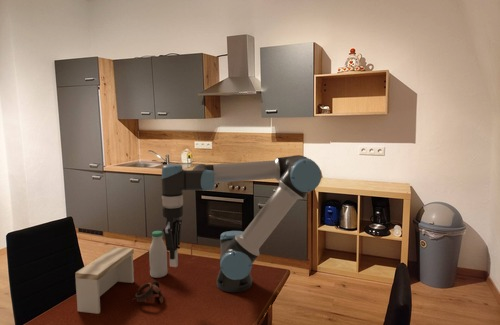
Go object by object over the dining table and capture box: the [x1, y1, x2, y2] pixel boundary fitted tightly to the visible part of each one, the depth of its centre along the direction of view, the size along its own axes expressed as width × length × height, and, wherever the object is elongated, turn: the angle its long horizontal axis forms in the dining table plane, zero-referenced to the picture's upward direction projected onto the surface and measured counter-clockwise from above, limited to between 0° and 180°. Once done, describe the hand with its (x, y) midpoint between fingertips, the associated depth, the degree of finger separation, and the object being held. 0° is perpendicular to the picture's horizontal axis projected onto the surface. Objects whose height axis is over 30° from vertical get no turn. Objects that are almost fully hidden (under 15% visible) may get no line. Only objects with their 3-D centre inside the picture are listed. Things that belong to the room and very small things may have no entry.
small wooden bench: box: [74, 246, 135, 315], centre depth 149 cm, size 9×26×15 cm, turn 169°
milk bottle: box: [148, 230, 168, 279], centre depth 168 cm, size 8×8×20 cm
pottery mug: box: [135, 280, 164, 305], centre depth 146 cm, size 12×10×8 cm
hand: (173, 265), depth 143 cm, fingers closed
